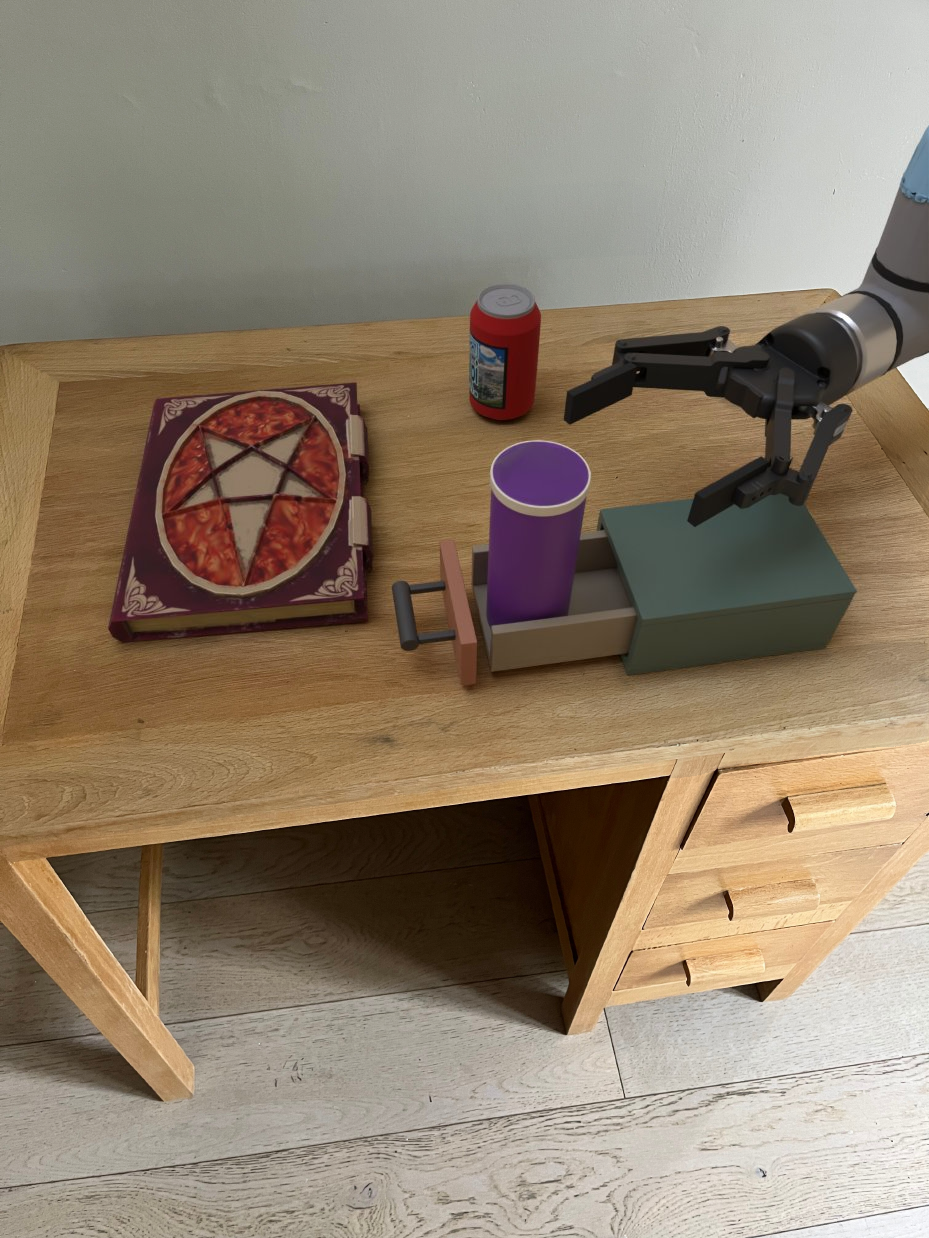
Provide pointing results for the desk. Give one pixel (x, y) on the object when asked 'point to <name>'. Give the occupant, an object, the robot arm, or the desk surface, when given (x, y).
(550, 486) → the tube
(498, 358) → the beverage can
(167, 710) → the desk surface
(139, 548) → the book
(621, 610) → the drawer
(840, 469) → the desk surface
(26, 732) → the desk surface
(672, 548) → the cabinet
